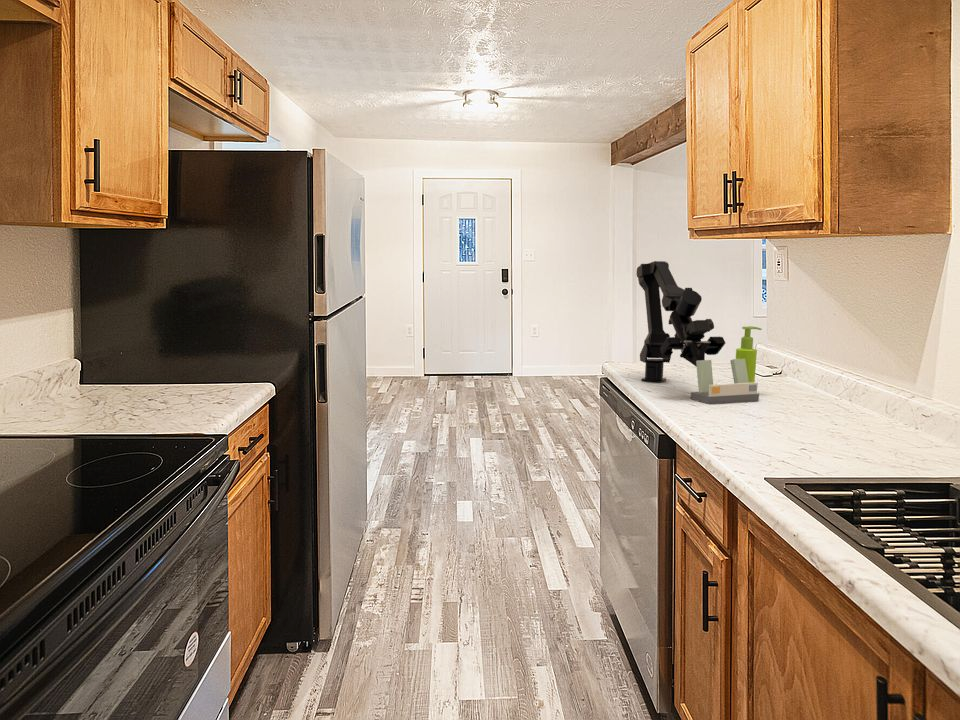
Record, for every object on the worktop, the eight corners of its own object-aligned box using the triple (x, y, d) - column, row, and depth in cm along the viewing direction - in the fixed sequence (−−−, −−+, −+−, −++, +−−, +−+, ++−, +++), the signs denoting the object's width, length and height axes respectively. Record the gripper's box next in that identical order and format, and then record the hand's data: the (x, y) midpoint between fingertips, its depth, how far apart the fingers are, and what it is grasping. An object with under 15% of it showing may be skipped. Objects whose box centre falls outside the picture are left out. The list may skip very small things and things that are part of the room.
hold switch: (735, 390, 235) (730, 360, 237) (746, 390, 237) (741, 359, 238) (739, 389, 234) (733, 359, 235) (750, 389, 235) (744, 358, 237)
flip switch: (698, 392, 230) (696, 360, 231) (710, 391, 232) (707, 360, 232) (702, 392, 229) (699, 360, 229) (713, 391, 230) (711, 359, 231)
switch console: (690, 398, 233) (691, 381, 233) (739, 395, 240) (740, 378, 239) (708, 404, 226) (709, 385, 225) (758, 400, 233) (759, 382, 232)
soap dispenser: (759, 394, 244) (764, 327, 241) (736, 393, 244) (741, 327, 241) (753, 391, 249) (758, 326, 247) (731, 390, 250) (735, 325, 247)
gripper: (667, 309, 232) (686, 352, 223) (724, 309, 237) (744, 351, 228) (652, 333, 240) (669, 376, 231) (707, 332, 246) (726, 374, 237)
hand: (702, 369), depth 232 cm, fingers closed, pressing on flip switch
